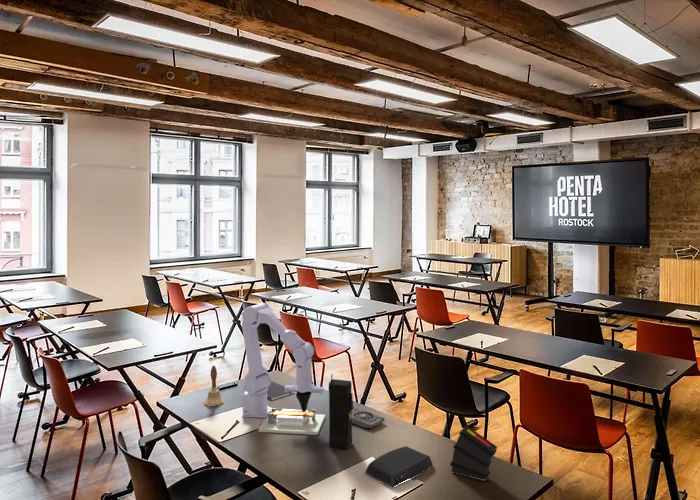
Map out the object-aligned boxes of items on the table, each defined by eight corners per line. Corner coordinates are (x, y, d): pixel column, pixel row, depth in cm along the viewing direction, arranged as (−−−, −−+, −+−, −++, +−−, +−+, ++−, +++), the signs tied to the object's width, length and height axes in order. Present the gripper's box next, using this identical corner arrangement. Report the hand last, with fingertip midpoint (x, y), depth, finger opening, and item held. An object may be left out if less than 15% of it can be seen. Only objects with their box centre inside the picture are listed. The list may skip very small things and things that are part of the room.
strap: (269, 416, 201) (269, 413, 201) (271, 413, 204) (271, 410, 204) (312, 418, 199) (312, 414, 198) (314, 415, 201) (314, 411, 201)
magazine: (445, 461, 169) (465, 424, 164) (481, 488, 163) (504, 450, 159) (441, 466, 166) (461, 428, 161) (478, 494, 160) (500, 456, 156)
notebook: (244, 389, 241) (271, 401, 225) (244, 385, 241) (271, 398, 225) (267, 382, 249) (295, 394, 234) (267, 379, 249) (295, 390, 234)
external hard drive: (362, 474, 165) (362, 461, 165) (404, 453, 178) (404, 442, 178) (393, 490, 156) (393, 477, 155) (435, 468, 169) (435, 455, 168)
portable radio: (355, 443, 185) (355, 373, 183) (349, 450, 180) (349, 378, 177) (334, 439, 188) (334, 371, 186) (328, 447, 182) (327, 376, 180)
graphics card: (333, 413, 204) (353, 403, 213) (333, 422, 204) (354, 412, 213) (366, 426, 193) (386, 415, 201) (366, 436, 193) (387, 424, 202)
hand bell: (226, 399, 227) (225, 362, 226) (221, 406, 219) (220, 369, 217) (206, 399, 227) (205, 363, 226) (201, 406, 219) (200, 369, 217)
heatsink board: (258, 431, 195) (258, 418, 194) (270, 414, 211) (270, 402, 210) (317, 434, 192) (317, 421, 192) (325, 417, 208) (325, 404, 207)
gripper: (282, 378, 196) (282, 414, 197) (321, 380, 194) (321, 415, 195) (287, 372, 203) (287, 406, 204) (324, 373, 201) (324, 408, 202)
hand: (304, 410), depth 200 cm, fingers closed
